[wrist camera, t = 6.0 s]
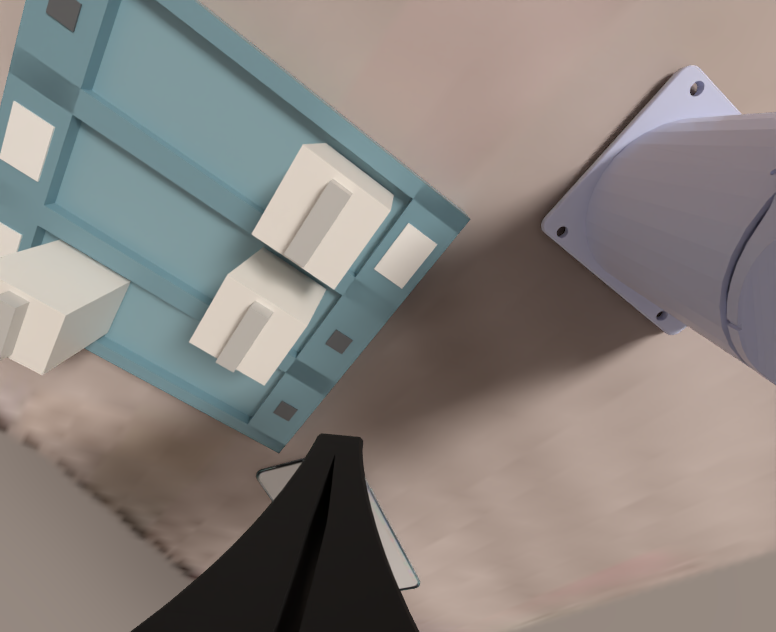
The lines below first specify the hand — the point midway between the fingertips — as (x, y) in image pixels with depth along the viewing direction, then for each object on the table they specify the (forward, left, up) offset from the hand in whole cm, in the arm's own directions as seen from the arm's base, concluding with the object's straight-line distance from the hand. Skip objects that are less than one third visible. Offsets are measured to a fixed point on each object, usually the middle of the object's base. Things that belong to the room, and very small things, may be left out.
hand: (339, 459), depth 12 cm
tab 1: (+13, +6, -8) cm, 16 cm away
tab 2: (+5, -5, -8) cm, 11 cm away
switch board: (+9, +1, -9) cm, 13 cm away
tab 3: (+5, +1, -8) cm, 10 cm away
